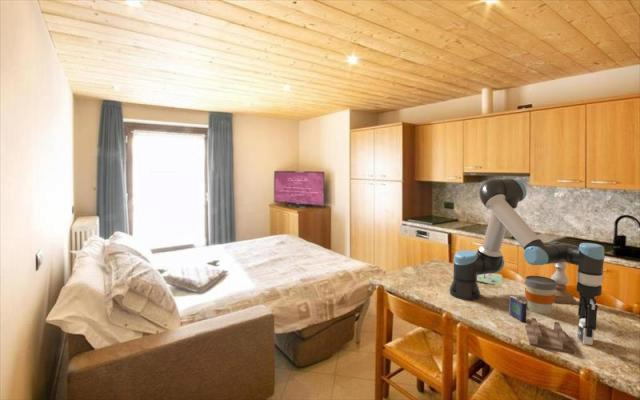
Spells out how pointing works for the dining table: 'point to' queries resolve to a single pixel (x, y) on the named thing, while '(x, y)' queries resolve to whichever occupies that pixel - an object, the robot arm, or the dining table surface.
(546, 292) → the reusable coffee cup
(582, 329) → the pill bottle
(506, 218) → the robot arm
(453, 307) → the dining table surface
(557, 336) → the clip stand
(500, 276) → the green board with pegs
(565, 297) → the candle holder
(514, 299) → the dark blue upright block
